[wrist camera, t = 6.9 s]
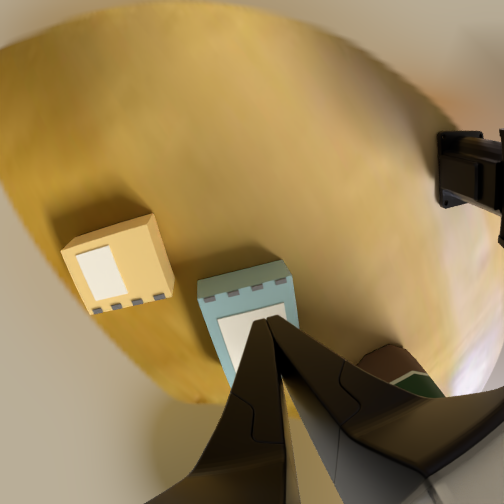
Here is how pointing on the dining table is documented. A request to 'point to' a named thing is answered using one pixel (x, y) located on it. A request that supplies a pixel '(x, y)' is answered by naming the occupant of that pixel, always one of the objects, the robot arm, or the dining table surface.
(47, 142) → the dining table surface
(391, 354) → the beer bottle
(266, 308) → the pale blue pin-sided card
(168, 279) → the stub
